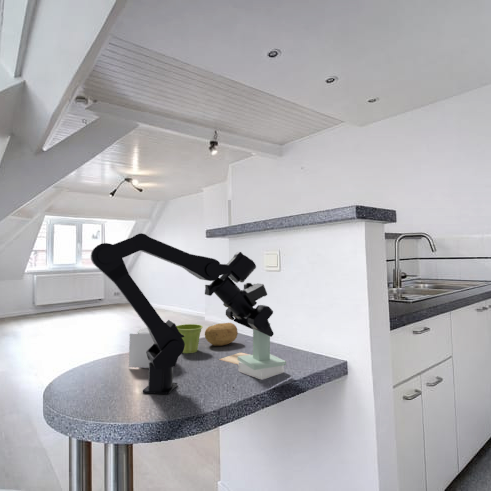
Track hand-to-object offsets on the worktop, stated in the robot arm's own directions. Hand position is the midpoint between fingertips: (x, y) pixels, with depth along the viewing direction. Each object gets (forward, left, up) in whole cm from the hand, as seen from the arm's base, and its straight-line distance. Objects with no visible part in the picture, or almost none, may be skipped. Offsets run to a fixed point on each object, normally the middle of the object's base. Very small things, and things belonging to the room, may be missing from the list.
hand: (265, 332), depth 94 cm
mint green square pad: (+11, +8, -11) cm, 17 cm away
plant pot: (+17, +28, -11) cm, 35 cm away
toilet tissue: (+2, +34, -11) cm, 36 cm away
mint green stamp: (-1, +1, -8) cm, 8 cm away
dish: (-1, +1, -11) cm, 11 cm away
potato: (+28, +19, -11) cm, 36 cm away
